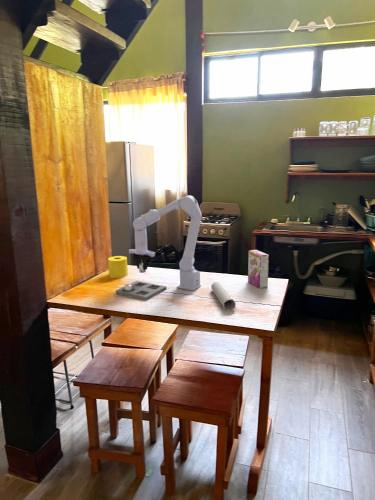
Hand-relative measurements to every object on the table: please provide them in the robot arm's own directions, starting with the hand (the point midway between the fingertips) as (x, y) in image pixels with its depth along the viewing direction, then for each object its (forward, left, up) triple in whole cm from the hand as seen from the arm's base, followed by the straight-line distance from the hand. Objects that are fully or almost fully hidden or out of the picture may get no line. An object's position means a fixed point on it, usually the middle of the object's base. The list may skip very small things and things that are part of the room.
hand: (142, 269), depth 175 cm
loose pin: (0, 0, -1) cm, 1 cm away
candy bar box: (-50, -27, -9) cm, 57 cm away
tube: (-43, -1, -9) cm, 43 cm away
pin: (-1, +12, -8) cm, 15 cm away
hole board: (-5, +8, -8) cm, 12 cm away
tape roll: (+22, -7, -9) cm, 25 cm away
